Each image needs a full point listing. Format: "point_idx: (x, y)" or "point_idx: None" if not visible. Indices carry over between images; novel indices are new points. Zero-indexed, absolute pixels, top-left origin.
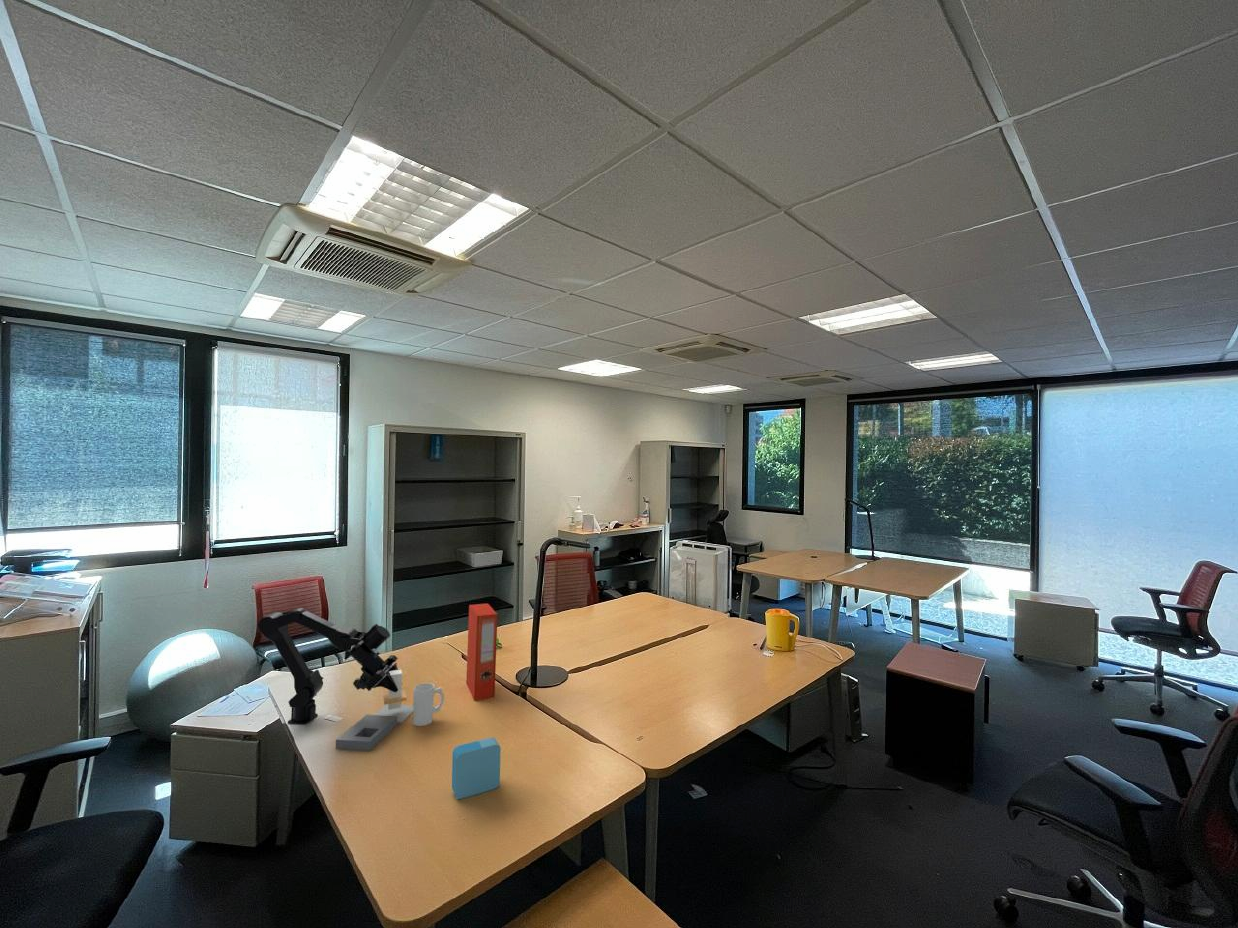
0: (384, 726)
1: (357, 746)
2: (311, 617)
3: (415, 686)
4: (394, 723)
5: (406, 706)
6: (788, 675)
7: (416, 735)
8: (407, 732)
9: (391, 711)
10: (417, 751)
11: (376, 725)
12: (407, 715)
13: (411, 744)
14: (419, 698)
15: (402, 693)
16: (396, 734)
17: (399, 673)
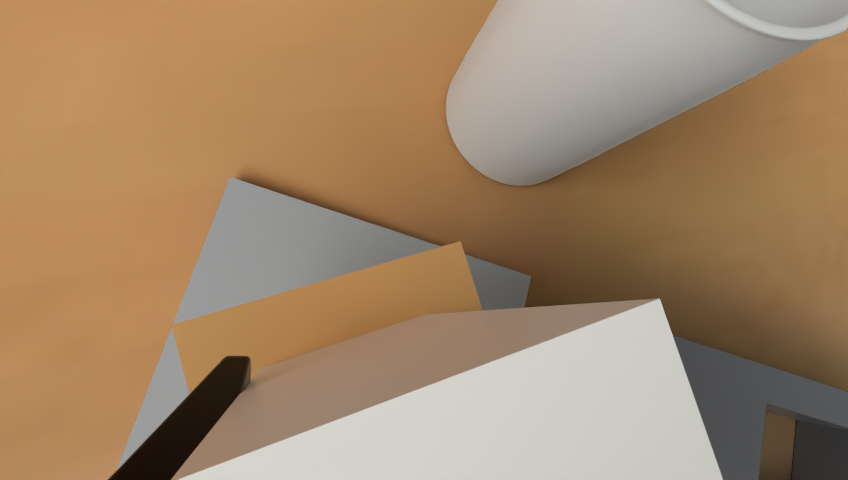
0: (736, 371)
1: None
2: None
3: (744, 12)
4: None
5: (219, 296)
6: None
7: (684, 144)
8: (646, 208)
9: None
10: (834, 120)
11: (717, 450)
12: (418, 249)
13: (774, 161)
14: (777, 18)
15: (312, 324)
16: (665, 280)
17: (648, 411)
